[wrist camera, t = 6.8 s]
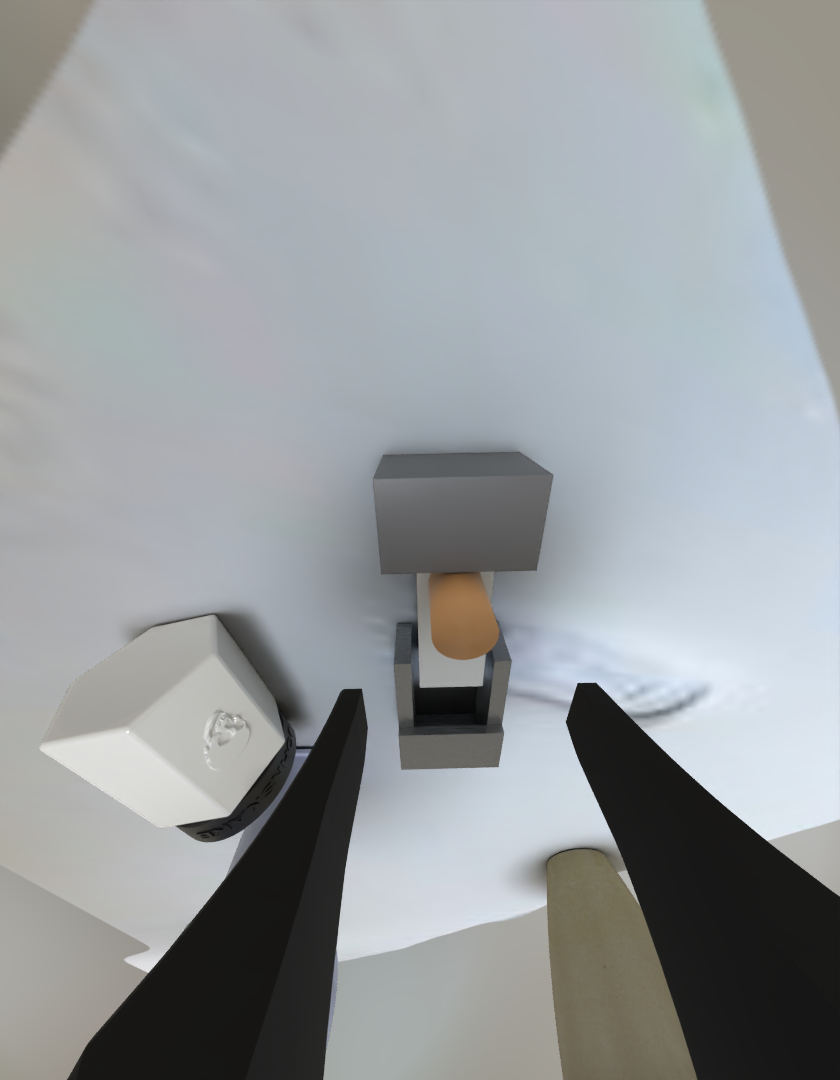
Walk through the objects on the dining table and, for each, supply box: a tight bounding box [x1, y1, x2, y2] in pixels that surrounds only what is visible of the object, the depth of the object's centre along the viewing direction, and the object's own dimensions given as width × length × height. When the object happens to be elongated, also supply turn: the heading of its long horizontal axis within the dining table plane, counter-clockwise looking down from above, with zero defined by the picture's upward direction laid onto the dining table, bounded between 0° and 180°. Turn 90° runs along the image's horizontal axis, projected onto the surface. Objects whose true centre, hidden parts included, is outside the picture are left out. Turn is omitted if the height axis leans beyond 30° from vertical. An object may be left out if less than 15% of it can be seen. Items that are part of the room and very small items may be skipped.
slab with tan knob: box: [416, 571, 499, 688], centre depth 17 cm, size 13×4×7 cm, turn 1°
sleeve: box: [394, 621, 512, 770], centre depth 22 cm, size 11×7×4 cm, turn 1°
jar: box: [40, 615, 296, 842], centre depth 21 cm, size 9×8×12 cm
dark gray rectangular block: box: [373, 452, 553, 574], centre depth 15 cm, size 4×7×4 cm, turn 91°
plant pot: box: [547, 849, 697, 1080], centre depth 33 cm, size 15×15×16 cm
